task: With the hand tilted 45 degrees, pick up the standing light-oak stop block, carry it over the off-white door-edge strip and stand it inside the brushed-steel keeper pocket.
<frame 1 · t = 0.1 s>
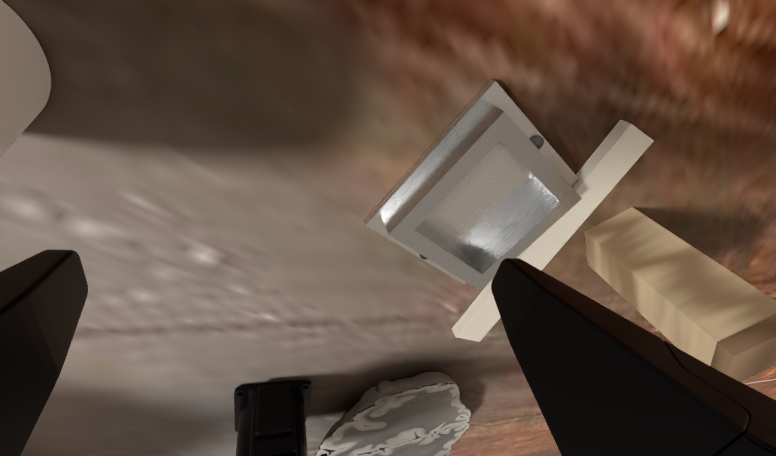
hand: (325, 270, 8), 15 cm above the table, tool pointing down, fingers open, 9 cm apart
brain slice: (389, 416, 42), on the table
door edge strip: (535, 244, 31), on the table
keeper: (473, 196, 27), on the table
stop block: (608, 236, 33), on the table
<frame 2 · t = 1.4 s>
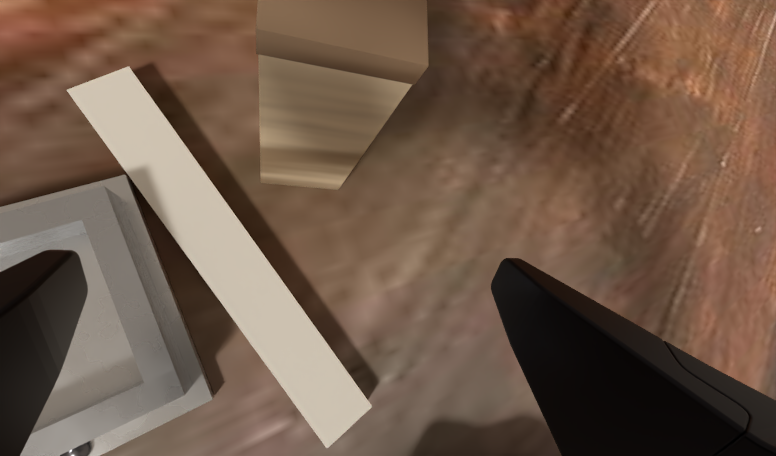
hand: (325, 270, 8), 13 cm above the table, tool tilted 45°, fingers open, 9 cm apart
door edge strip: (229, 258, 20), on the table
keeper: (40, 334, 17), on the table
stop block: (302, 150, 22), on the table
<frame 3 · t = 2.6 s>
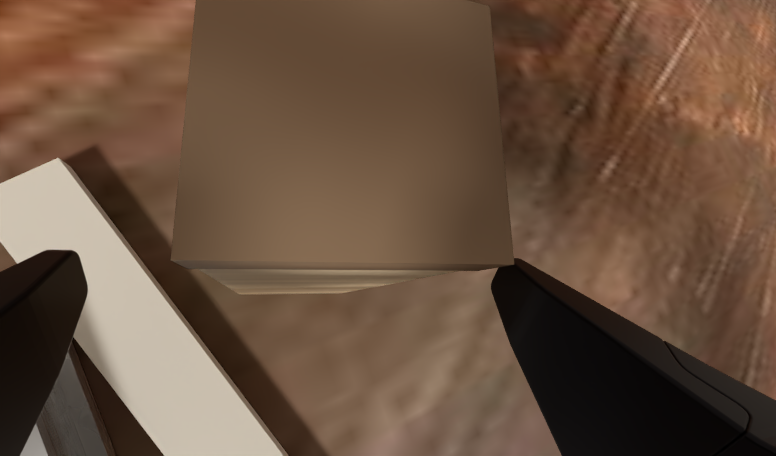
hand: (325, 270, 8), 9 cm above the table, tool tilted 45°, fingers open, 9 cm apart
door edge strip: (197, 405, 15), on the table
stop block: (293, 245, 17), on the table
when the fingers open (8 cm above the table, at t = 7.4 s): stop block drops 1 cm, resting on keeper.
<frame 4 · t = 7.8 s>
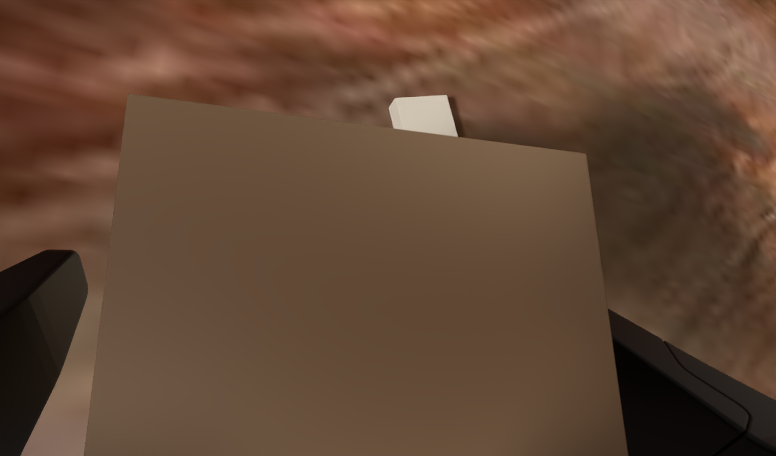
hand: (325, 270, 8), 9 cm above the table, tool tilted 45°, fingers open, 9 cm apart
door edge strip: (466, 307, 19), on the table
stop block: (293, 319, 15), point 1 cm above the table, touching keeper
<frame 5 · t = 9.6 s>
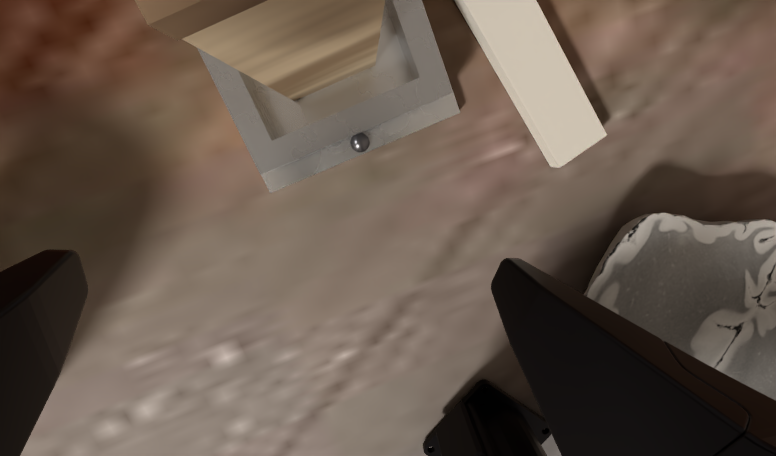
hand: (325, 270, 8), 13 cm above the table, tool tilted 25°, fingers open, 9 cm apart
brain slice: (673, 335, 25), on the table
keeper: (317, 41, 19), on the table
stop block: (315, 38, 18), point 1 cm above the table, touching keeper
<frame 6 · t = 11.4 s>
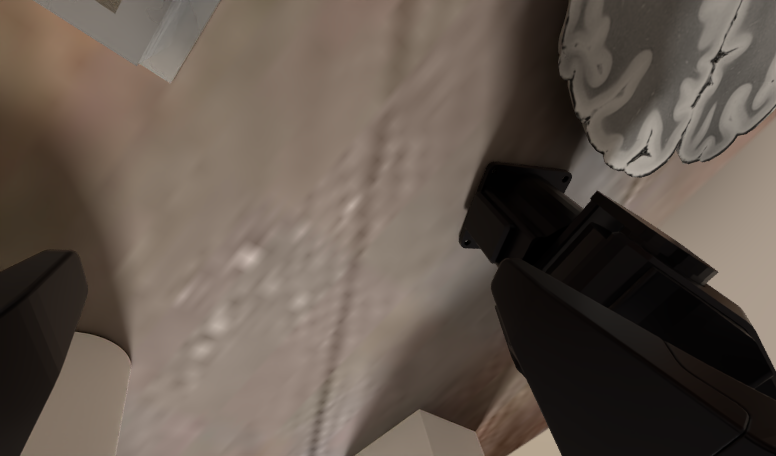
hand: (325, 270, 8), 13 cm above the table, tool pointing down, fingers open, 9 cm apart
brain slice: (677, 17, 21), on the table
cup: (74, 360, 24), on the table
milk: (410, 446, 43), on the table
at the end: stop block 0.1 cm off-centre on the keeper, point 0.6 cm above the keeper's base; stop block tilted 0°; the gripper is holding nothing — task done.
